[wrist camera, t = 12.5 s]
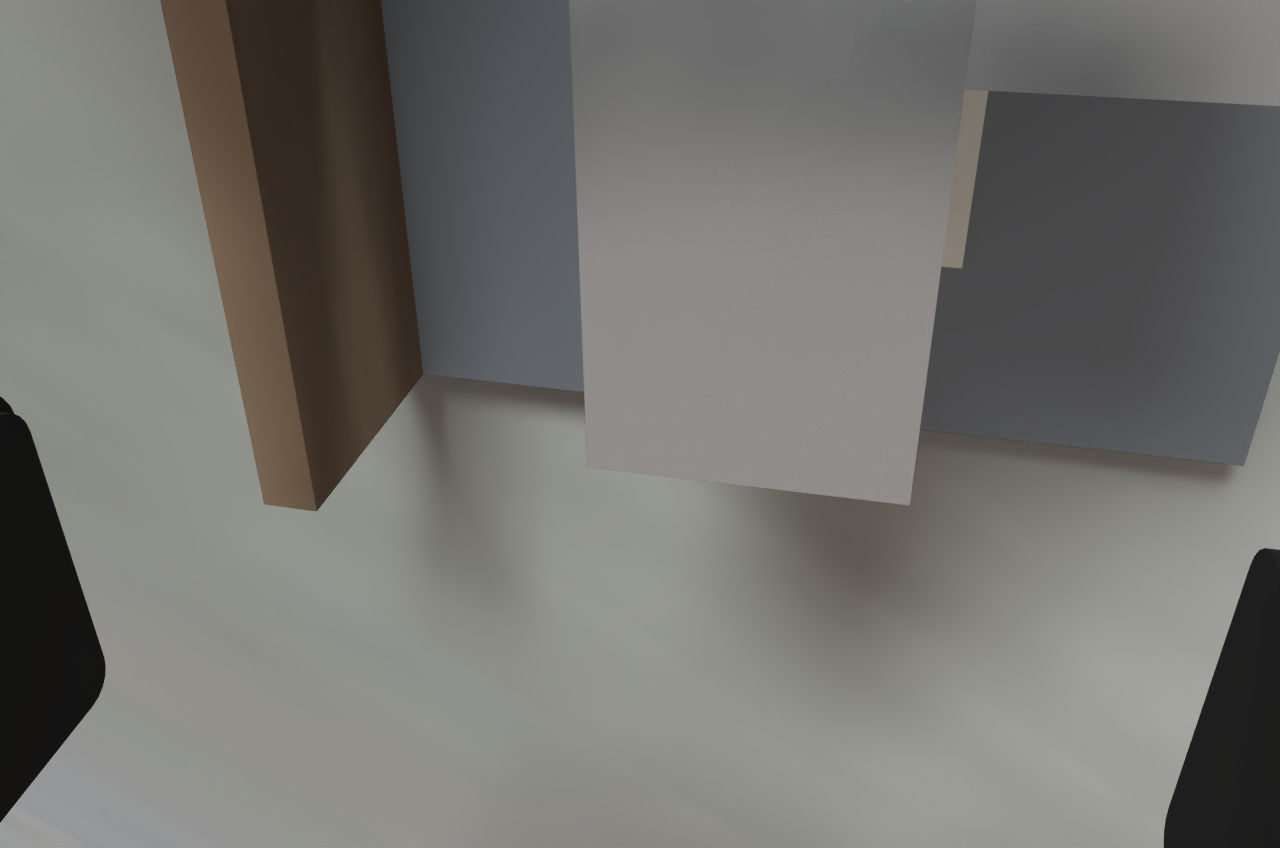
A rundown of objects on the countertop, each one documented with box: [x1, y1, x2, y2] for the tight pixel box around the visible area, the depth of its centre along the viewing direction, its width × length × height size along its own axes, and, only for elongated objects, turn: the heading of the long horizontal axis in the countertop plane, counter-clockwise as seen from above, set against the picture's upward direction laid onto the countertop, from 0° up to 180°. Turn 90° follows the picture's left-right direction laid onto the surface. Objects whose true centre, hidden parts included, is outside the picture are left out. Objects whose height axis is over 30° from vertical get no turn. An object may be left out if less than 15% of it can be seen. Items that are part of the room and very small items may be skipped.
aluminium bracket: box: [569, 0, 1280, 505], centre depth 15 cm, size 9×8×8 cm
